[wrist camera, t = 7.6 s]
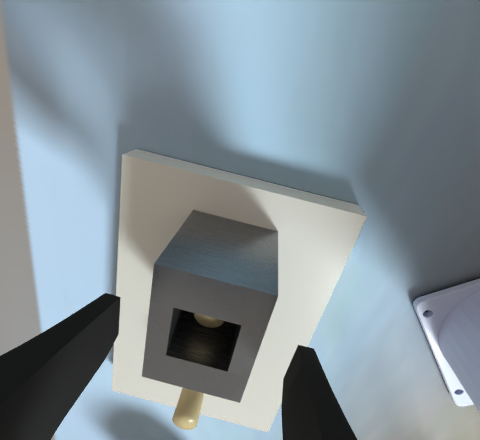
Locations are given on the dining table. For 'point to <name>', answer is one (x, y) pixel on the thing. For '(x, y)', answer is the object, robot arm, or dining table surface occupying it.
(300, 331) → the housing base
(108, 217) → the dining table surface
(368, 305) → the dining table surface
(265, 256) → the grey hollow block
